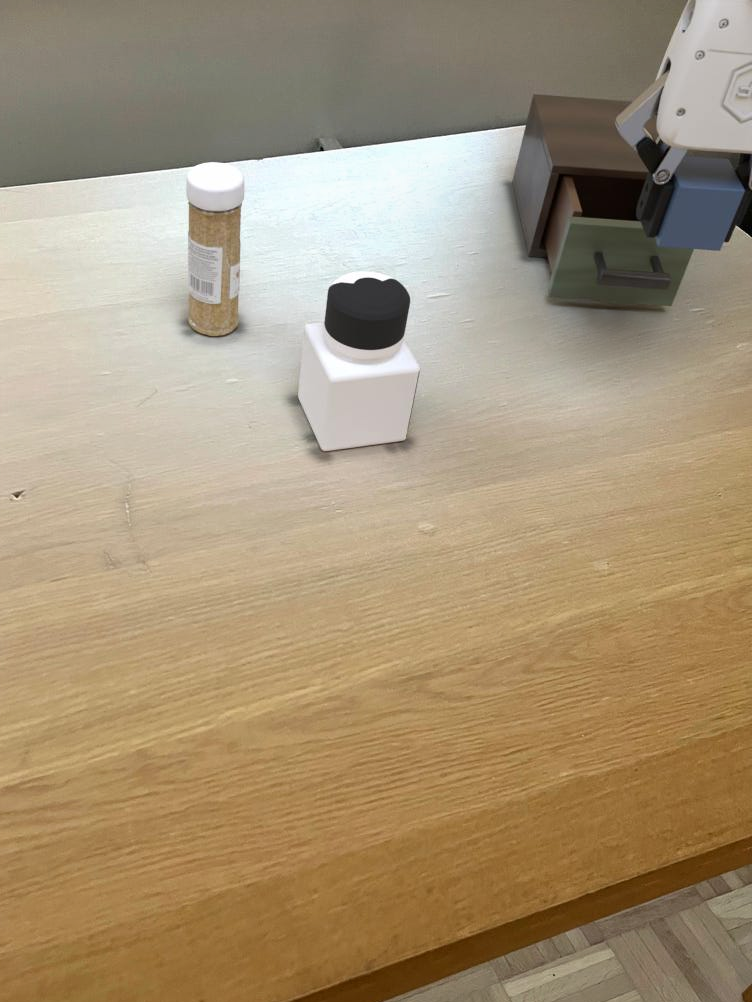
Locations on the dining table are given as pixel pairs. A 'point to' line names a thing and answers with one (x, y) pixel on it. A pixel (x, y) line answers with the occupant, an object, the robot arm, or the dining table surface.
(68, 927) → the dining table surface
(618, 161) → the cabinet
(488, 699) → the dining table surface
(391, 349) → the medicine bottle
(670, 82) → the robot arm
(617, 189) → the drawer
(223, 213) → the spice jar
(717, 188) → the block
